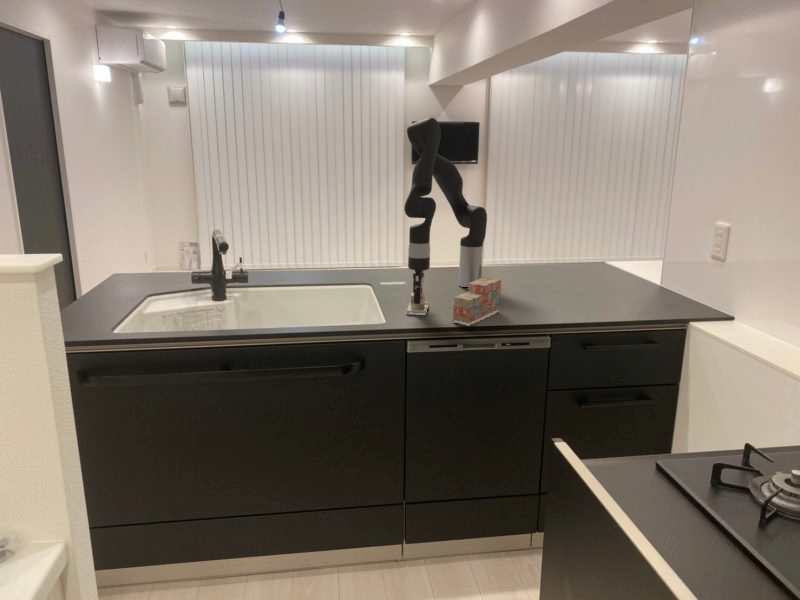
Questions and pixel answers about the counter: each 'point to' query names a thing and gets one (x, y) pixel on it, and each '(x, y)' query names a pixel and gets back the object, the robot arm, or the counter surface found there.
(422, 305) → the maple block
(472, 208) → the robot arm
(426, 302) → the ceramic dish
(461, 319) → the stack of blocks
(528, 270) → the counter surface
